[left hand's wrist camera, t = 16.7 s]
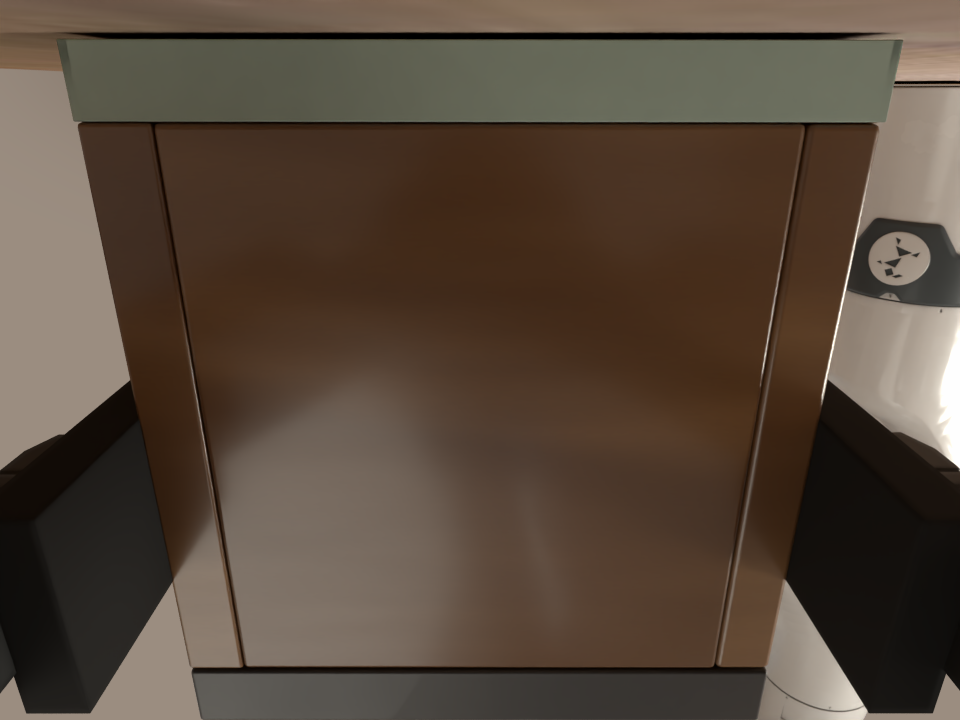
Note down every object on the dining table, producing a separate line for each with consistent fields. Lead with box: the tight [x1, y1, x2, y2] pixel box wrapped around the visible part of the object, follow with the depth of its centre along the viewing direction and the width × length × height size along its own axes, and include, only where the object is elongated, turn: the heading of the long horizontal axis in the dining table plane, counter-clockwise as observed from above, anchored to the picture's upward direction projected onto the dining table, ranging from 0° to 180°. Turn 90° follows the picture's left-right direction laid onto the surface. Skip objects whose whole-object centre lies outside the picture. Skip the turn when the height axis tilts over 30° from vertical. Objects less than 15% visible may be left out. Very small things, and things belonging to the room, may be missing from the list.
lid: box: [192, 663, 767, 720], centre depth 19 cm, size 15×9×9 cm, turn 0°
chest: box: [57, 39, 903, 668], centre depth 16 cm, size 15×9×9 cm, turn 0°
